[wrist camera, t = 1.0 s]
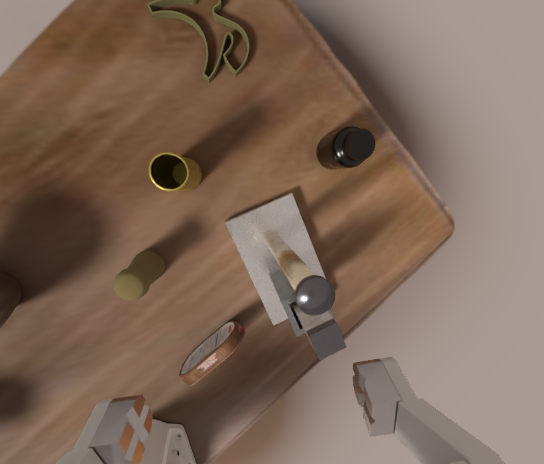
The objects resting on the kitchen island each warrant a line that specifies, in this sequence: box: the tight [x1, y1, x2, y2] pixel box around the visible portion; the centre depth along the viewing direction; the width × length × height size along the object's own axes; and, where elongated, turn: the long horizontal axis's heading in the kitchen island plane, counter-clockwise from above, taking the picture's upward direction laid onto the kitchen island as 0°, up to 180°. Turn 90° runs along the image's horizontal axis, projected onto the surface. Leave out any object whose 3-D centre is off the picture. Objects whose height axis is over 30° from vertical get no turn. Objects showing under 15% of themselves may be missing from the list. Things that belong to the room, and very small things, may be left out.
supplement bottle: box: [317, 126, 375, 169], centre depth 48 cm, size 7×7×12 cm
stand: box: [225, 193, 335, 337], centre depth 42 cm, size 24×14×29 cm, turn 23°
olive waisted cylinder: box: [114, 251, 165, 300], centre depth 47 cm, size 6×6×11 cm
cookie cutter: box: [147, 0, 249, 83], centre depth 45 cm, size 18×12×2 cm, turn 41°
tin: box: [179, 321, 245, 386], centre depth 53 cm, size 15×3×8 cm, turn 129°
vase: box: [149, 152, 202, 191], centre depth 43 cm, size 6×6×14 cm
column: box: [291, 301, 346, 360], centre depth 45 cm, size 4×4×20 cm
